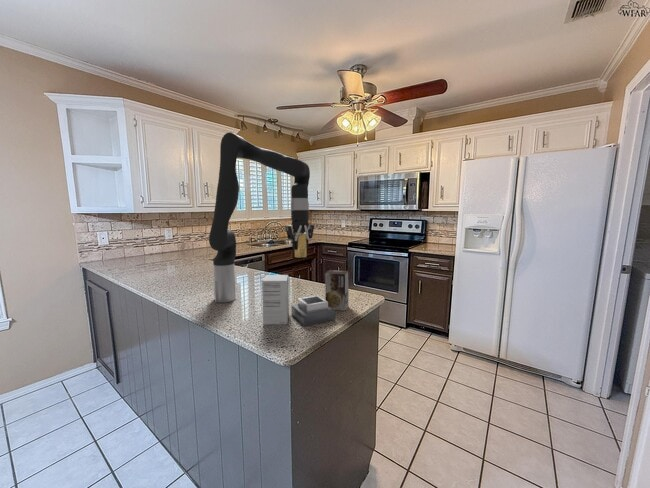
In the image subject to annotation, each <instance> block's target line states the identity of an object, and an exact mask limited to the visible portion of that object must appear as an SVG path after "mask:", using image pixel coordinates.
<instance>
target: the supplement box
mask: <svg viewBox="0 0 650 488" xmlns="http://www.w3.org/2000/svg"><path fill="white" fill-rule="evenodd" d="M261 287H262V288H261V291H262V292H261V293H262V295H261V296H262V297H261V298H262V325H265V326H266V325H288V322H289V317H290V313H289V312H290V310H289V309H290V305H289V304H290V303H289V302H290V301H289V300H290V299H289V298H290V297H289V295H290V293H289V291H290V290H289V274H265V275H264V278H263V279H262V281H261Z"/></svg>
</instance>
